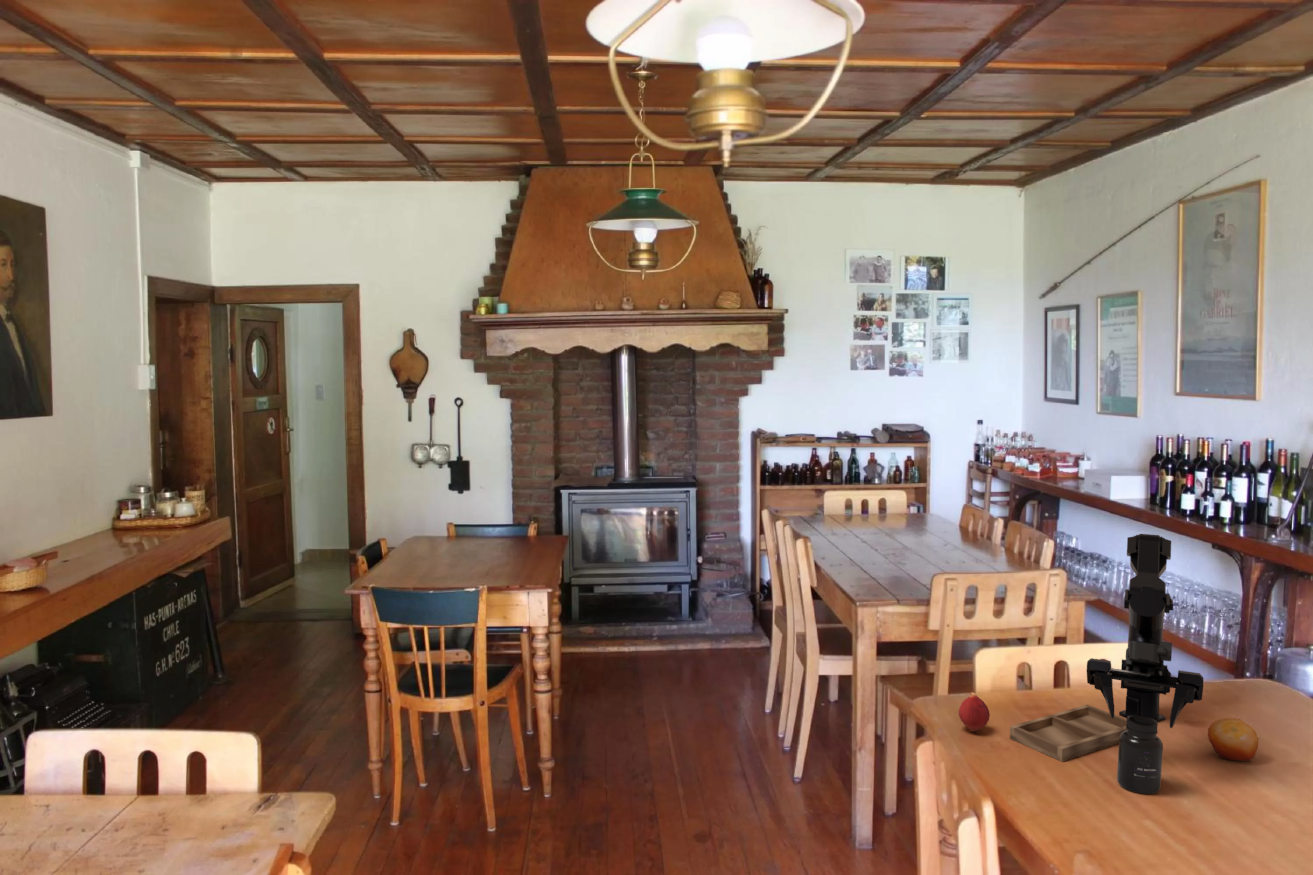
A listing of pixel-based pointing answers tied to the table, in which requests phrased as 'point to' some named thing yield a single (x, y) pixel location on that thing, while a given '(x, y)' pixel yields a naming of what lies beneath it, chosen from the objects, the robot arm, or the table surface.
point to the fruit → (1233, 739)
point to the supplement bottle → (1140, 756)
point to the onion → (974, 713)
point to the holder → (1070, 732)
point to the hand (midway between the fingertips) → (1141, 722)
